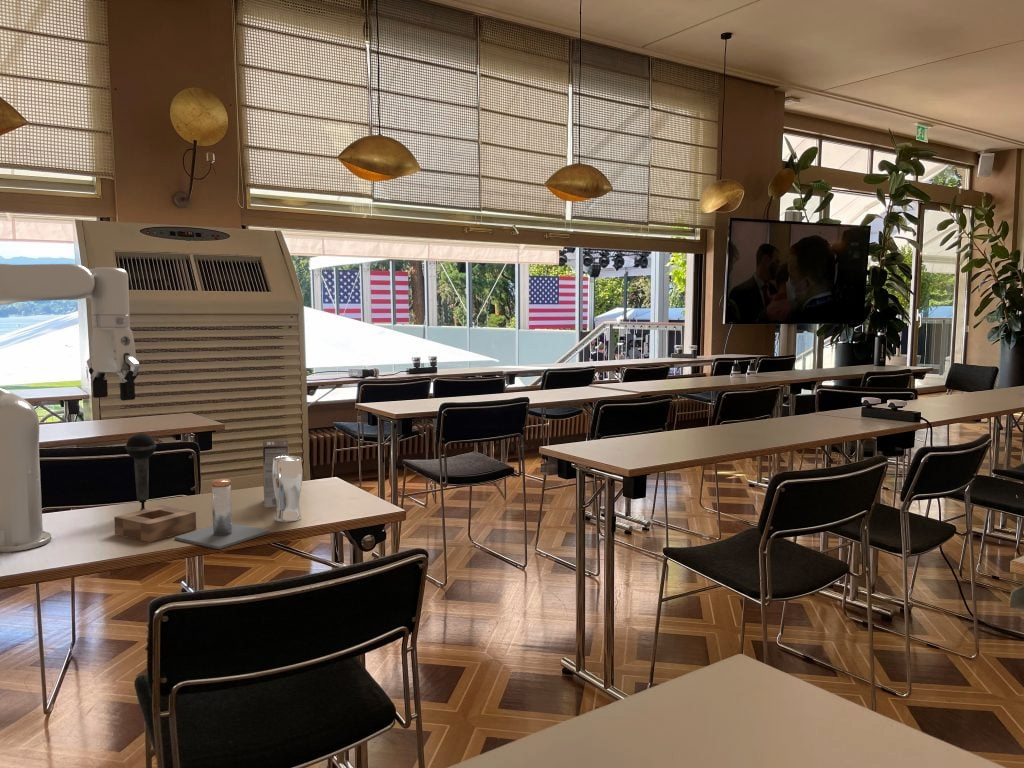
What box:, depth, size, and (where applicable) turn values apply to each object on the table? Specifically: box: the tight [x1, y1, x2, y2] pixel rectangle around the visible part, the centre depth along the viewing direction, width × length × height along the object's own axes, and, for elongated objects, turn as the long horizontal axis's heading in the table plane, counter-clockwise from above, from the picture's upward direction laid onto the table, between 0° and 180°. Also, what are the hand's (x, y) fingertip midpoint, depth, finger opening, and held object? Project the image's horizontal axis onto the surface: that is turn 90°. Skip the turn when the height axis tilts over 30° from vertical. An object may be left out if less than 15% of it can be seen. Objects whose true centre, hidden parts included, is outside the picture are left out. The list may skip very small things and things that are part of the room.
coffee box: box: [262, 439, 290, 509], centre depth 199 cm, size 9×6×16 cm
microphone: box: [124, 433, 157, 511], centre depth 187 cm, size 7×7×20 cm
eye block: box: [113, 505, 197, 543], centre depth 172 cm, size 12×12×4 cm
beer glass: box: [272, 455, 303, 523], centre depth 183 cm, size 7×7×15 cm
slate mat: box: [174, 522, 270, 550], centre depth 169 cm, size 14×14×1 cm
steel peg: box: [211, 478, 233, 536], centre depth 169 cm, size 4×4×12 cm
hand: (114, 398), depth 171 cm, fingers open, 9 cm apart
